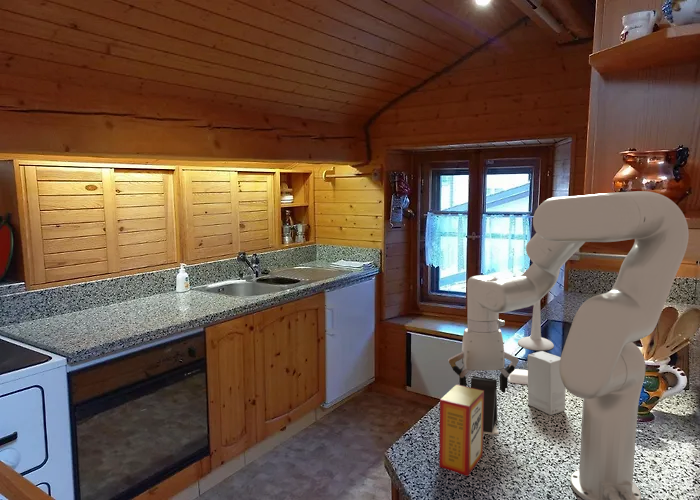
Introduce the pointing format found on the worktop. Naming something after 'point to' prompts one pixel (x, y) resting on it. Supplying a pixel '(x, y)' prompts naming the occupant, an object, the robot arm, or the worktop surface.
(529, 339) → the candlestick
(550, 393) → the skincare box
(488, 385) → the black tapered piece
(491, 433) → the pad
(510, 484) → the worktop surface
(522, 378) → the soap
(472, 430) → the baking soda box
